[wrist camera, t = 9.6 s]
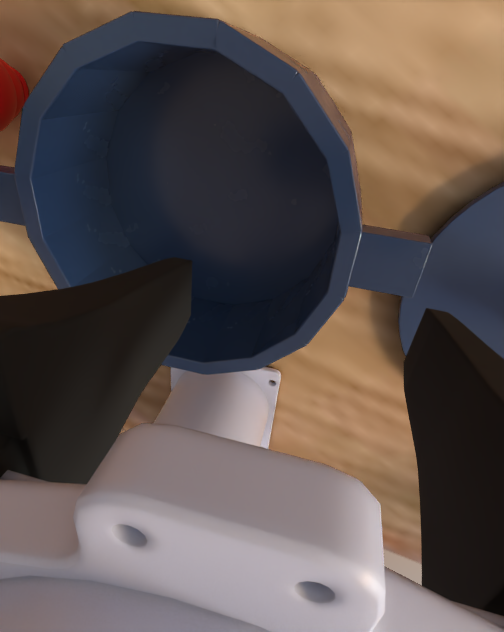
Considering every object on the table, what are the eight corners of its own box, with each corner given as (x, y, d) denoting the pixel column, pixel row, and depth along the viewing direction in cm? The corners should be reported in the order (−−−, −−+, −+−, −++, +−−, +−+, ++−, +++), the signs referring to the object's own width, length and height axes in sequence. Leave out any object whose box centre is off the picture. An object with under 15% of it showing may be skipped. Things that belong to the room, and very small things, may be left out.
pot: (370, 340, 24) (374, 414, 19) (76, 280, 27) (7, 330, 21) (461, 57, 16) (513, 47, 11) (32, 14, 19) (-96, -12, 14)
